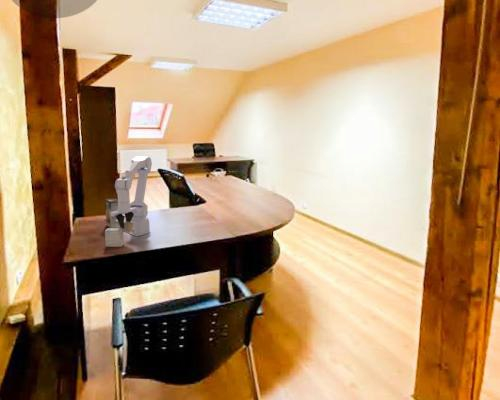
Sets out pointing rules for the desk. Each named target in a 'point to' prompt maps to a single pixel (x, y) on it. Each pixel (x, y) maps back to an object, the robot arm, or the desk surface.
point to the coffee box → (110, 207)
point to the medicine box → (114, 237)
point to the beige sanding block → (125, 226)
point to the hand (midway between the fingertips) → (125, 227)
